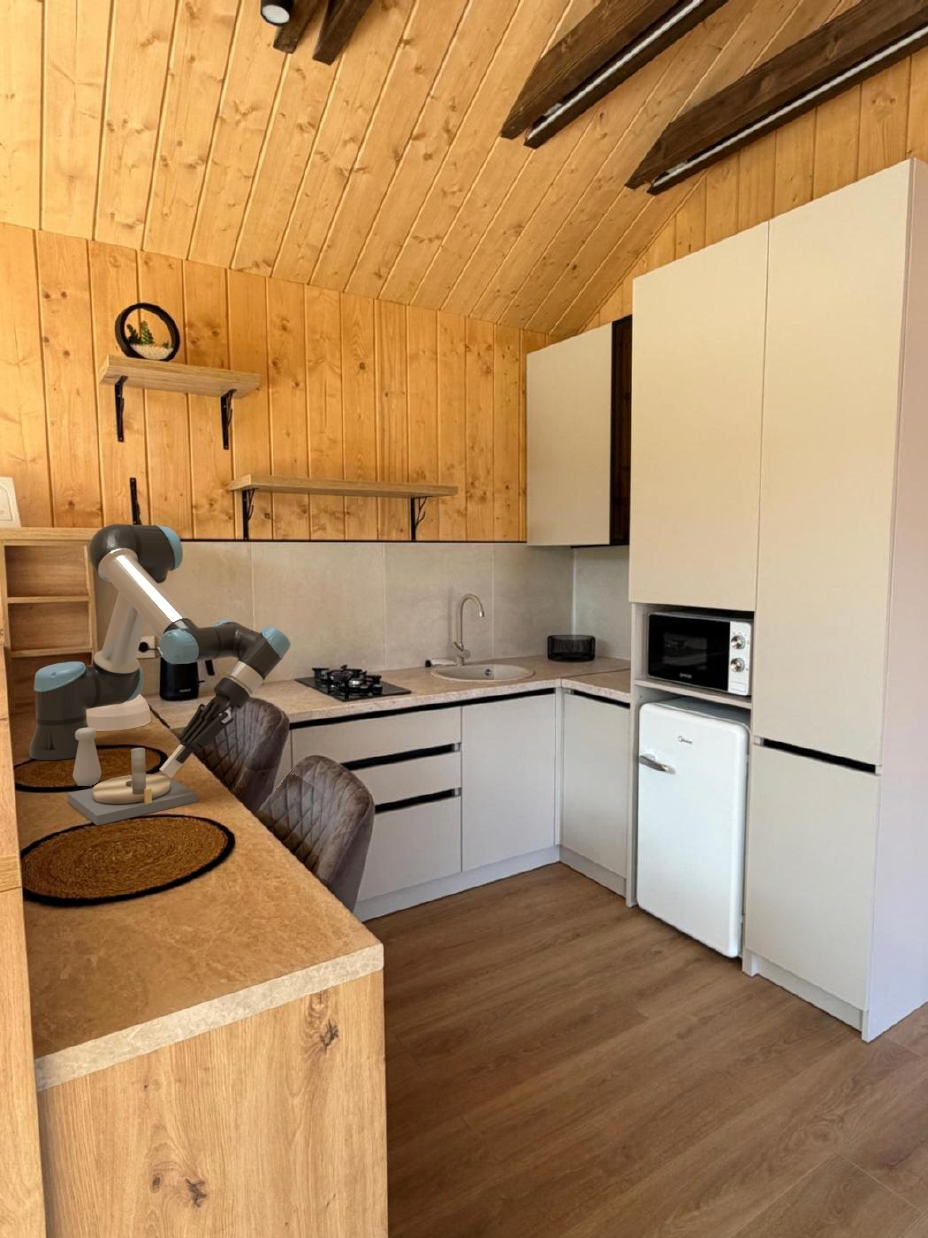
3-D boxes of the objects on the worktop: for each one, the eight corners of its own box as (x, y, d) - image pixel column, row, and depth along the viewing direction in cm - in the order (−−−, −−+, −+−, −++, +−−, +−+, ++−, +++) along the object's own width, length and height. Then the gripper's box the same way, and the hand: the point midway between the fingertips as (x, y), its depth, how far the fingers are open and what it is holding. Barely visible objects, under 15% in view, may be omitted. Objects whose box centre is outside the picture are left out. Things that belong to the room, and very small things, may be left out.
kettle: (149, 714, 238) (147, 659, 236) (153, 728, 219) (152, 669, 218) (79, 719, 229) (77, 663, 227) (78, 734, 210) (76, 673, 209)
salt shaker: (89, 789, 162) (87, 732, 161) (67, 787, 163) (65, 731, 162) (107, 781, 168) (105, 726, 167) (85, 779, 169) (83, 725, 168)
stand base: (67, 802, 153) (67, 779, 153) (162, 782, 168) (161, 761, 167) (97, 825, 141) (96, 800, 140) (196, 801, 155) (196, 779, 154)
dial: (86, 789, 155) (84, 741, 154) (159, 776, 164) (158, 731, 163) (101, 809, 143) (99, 757, 142) (179, 794, 153) (178, 745, 152)
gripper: (263, 700, 160) (191, 790, 150) (235, 692, 169) (166, 776, 159) (240, 679, 156) (164, 770, 146) (213, 672, 165) (140, 757, 155)
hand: (165, 773), depth 153 cm, fingers closed
